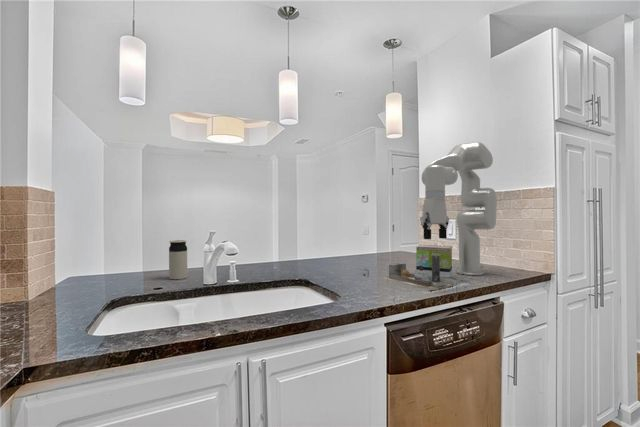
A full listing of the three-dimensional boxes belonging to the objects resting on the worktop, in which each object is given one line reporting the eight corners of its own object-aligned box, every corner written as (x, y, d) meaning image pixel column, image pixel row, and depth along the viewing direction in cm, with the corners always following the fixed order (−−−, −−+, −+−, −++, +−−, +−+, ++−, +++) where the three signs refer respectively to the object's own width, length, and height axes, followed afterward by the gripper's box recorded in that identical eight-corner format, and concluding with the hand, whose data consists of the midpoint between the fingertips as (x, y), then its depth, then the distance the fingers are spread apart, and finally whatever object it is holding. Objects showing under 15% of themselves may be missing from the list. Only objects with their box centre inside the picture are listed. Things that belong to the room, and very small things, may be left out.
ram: (423, 279, 138) (423, 253, 138) (448, 284, 128) (447, 255, 128) (412, 281, 134) (412, 254, 134) (436, 286, 124) (436, 257, 124)
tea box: (415, 277, 151) (415, 246, 151) (419, 273, 160) (419, 244, 160) (450, 280, 144) (449, 247, 144) (452, 276, 153) (452, 245, 153)
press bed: (403, 277, 152) (403, 261, 152) (453, 287, 130) (453, 269, 130) (382, 280, 144) (382, 264, 144) (431, 292, 122) (431, 273, 122)
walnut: (404, 277, 145) (404, 268, 145) (411, 278, 141) (411, 269, 141) (398, 278, 143) (398, 269, 143) (405, 279, 139) (405, 270, 139)
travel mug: (190, 276, 157) (190, 240, 157) (181, 280, 149) (181, 241, 149) (175, 276, 158) (174, 240, 158) (165, 279, 150) (165, 241, 150)
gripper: (440, 197, 137) (440, 237, 136) (413, 196, 127) (413, 239, 127) (456, 196, 130) (456, 238, 130) (429, 194, 121) (429, 240, 121)
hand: (435, 238), depth 128 cm, fingers open, 9 cm apart
